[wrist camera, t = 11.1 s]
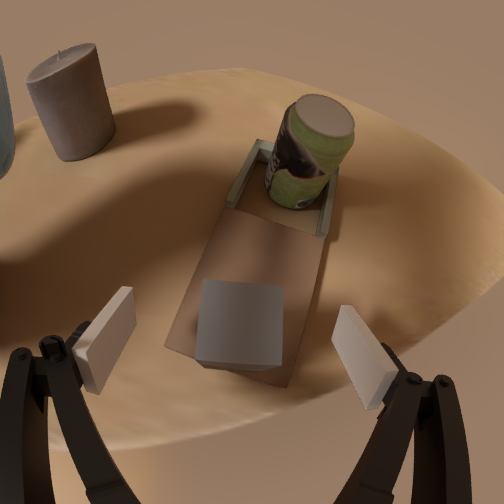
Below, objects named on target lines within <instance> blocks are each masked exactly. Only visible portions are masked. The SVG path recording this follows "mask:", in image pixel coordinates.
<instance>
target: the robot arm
mask: <svg viewBox="0 0 504 504" xmlns="http://www.w3.org/2000/svg"><path fill="white" fill-rule="evenodd" d="M14 154H15V133H14V125H13V118H12V111H11V105H10V99H9V94H8V88H7V82H6V77H5V72H4V67H3V62H2V58H1V56H0V180H1V179H2V178H3V177H4V176H5V175H6V174H7V172H8V171H9V169H10V168H11V165H12V163H13V160H14ZM135 326H136V316H135V306H134V294H133V287H126V286H122V287H121V288H120V289H119V290H118V291H117V292H116V294H115V295H114V296H113V297H112V298H111V300H110V301H109V302H108V303H107V304H106V306H105V307H104V308H103V309H102V310H101V312H100V313H99V314H98V315H97V317H96V318H95V319H94V320H93V322H89V321H85V322H84V323H82V324H80V325H79V326H78V327H77V329H76V330H75V332H73V333H72V335H71V336H70V337H69V338H68V340H67V341H66V342H65V343H64V341H63V339H62V338H61V337H60V336H57V335H49V336H46V337H44V338H43V339H42V340H41V341H40V342H39V348H40V351H41V353H42V356H43V357H35V356H33V355H32V352H31V351H30V349H28V348H24V347H22V348H18V349H16V350H14V351H13V352H12V353H11V355H10V359H9V362H8V366H7V370H6V374H5V378H4V383H3V388H2V392H1V398H0V504H56V503H55V498H54V492H53V487H52V480H51V471H50V462H49V449H48V397H52V399H53V403H54V407H55V410H56V414H57V417H58V420H59V423H60V427H61V430H62V433H63V435H64V438H65V441H66V444H67V446H68V449H69V452H70V454H71V457H72V459H73V461H74V464H75V465H76V468H77V471H78V473H79V475H80V477H81V479H82V481H83V483H84V485H85V487H86V495H87V497H88V499H89V501H90V503H91V504H141V503H140V502H139V500H138V499H137V497H136V496H135V495H134V493H133V491H132V490H131V488H130V487H129V485H128V484H127V482H126V481H125V479H124V478H123V476H122V474H121V473H120V471H119V469H118V468H117V466H116V464H115V462H114V461H113V459H112V457H111V455H110V453H109V452H108V450H107V448H106V446H105V444H104V442H103V440H102V438H101V436H100V434H99V432H98V430H97V428H96V425H95V423H94V421H93V419H92V417H91V414H90V412H89V410H88V407H87V405H86V402H85V400H84V397H83V395H82V392H81V390H80V388H81V387H82V385H83V384H84V387H85V389H86V391H87V392H90V393H94V394H97V395H100V393H101V391H102V389H103V387H104V385H105V383H106V381H107V379H108V377H109V375H110V373H111V371H112V369H113V367H114V365H115V363H116V361H117V359H118V358H119V356H120V354H121V352H122V350H123V348H124V346H125V344H126V343H127V341H128V339H129V337H130V335H131V333H132V332H133V330H134V328H135ZM331 341H332V343H333V345H334V347H335V349H336V351H337V353H338V355H339V357H340V359H341V361H342V363H343V365H344V367H345V369H346V371H347V373H348V375H349V377H350V379H351V381H352V383H353V385H354V387H355V389H356V392H357V394H358V396H359V398H360V400H361V402H362V404H363V406H364V408H365V410H370V409H376V408H378V407H379V405H380V403H381V402H382V401H383V403H384V405H385V406H384V408H383V410H382V411H381V413H380V414H379V416H378V417H377V419H378V421H377V424H376V426H375V428H374V431H373V433H372V435H371V437H370V439H369V442H368V443H367V445H366V448H365V449H364V452H363V454H362V455H361V458H360V459H359V461H358V463H357V465H356V467H355V469H354V470H353V472H352V474H351V476H350V478H349V479H348V481H347V482H346V484H345V486H344V487H343V489H342V491H341V492H340V494H339V495H338V497H337V499H336V500H335V502H334V503H333V504H392V503H393V500H394V495H393V494H392V489H393V487H394V485H395V483H396V480H397V477H398V475H399V472H400V469H401V467H402V464H403V461H404V458H405V455H406V452H407V449H408V446H409V442H410V439H411V436H412V432H413V429H414V473H413V487H412V497H411V504H472V491H471V474H470V463H469V455H468V448H467V441H466V435H465V429H464V424H463V419H462V414H461V409H460V405H459V401H458V397H457V393H456V389H455V385H454V382H453V381H452V379H451V378H450V377H448V376H446V375H437V376H436V377H435V379H434V381H433V382H430V381H423V379H422V378H421V377H420V376H419V375H418V374H416V373H413V372H408V371H407V370H406V369H405V367H404V366H403V364H401V362H400V360H399V359H397V356H396V355H395V354H394V352H393V351H392V349H391V348H390V347H389V346H387V345H386V344H385V343H379V341H378V340H377V339H376V337H375V336H374V334H373V333H372V332H371V330H370V329H369V328H368V326H367V325H366V324H365V322H364V321H363V320H362V318H361V317H360V316H359V314H358V313H357V312H356V310H355V309H354V308H353V306H352V305H341V308H340V311H339V315H338V318H337V322H336V325H335V328H334V332H333V335H332V338H331Z"/></svg>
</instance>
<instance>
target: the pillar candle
mask: <svg viewBox="0 0 504 504" xmlns="http://www.w3.org/2000/svg"><path fill="white" fill-rule="evenodd" d="M24 82H25V83H26V85H27V88H28V91H29V93H30V95H31V98H32V101H33V103H34V106H35V108H36V110H37V113H38V115H39V118H40V120H41V122H42V125H43V127H44V129H45V131H46V133H47V135H48V137H49V140H50V142H51V143H52V145H53V147H54V149H55V152H56V154H57V155H58V157H59V158H60V159H61V160H62V161H73V160H81V159H84V158H87V157H89V156H91V155H93V154H94V153H96V152H97V151H99V150H100V149H102V148H103V147H104V146H105V145H106V144H107V143H108V142H109V140H110V139H111V138H112V136H113V134H114V131H115V123H114V119H113V115H112V111H111V108H110V104H109V100H108V96H107V92H106V88H105V85H104V80H103V76H102V72H101V68H100V63H99V58H98V54H97V49H96V46H95V44H93V43H86V44H82V45H78V46H74V47H71V48H69V49H66V50H64V51H62V52H60V51H58V53H57V54H55V55H54V56H52V57H50V58H48V59H47V60H45V61H44V62H42V63H41V64H39V65H38V66H37V67H36V68H35V69H33V70H32V71H31V72H30V73H29V75H28V76H27V77H26V78H25V80H24Z"/></svg>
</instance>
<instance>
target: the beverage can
mask: <svg viewBox="0 0 504 504" xmlns="http://www.w3.org/2000/svg"><path fill="white" fill-rule="evenodd" d="M354 128H355V122H354V119H353V116H352V115H351V113H350V112H349V111H348V109H347V108H345V107H344V106H343V105H342V104H341V103H339V102H338V101H336V100H334V99H332V98H330V97H327V96H324V95H319V94H307V95H304V96H301V97H300V98H299V99H298V100H297V101H296V102H295V103H293V104H292V105H290V106H289V107H288V108H287V110H286V111H285V114H284V117H283V120H282V123H281V126H280V130H279V133H278V136H277V139H276V142H275V145H274V148H273V151H272V154H271V157H270V161H269V164H268V167H267V170H266V173H265V176H264V186H265V189H266V191H267V193H268V194H269V196H270V197H271V198H272V199H273V200H274V201H275V202H277V203H278V204H280V205H282V206H284V207H287V208H292V209H300V208H305V207H307V206H309V205H311V204H312V203H313V202H314V201H315V199H316V198H317V196H318V195H319V194H320V192H321V191H322V189H323V188H324V186H325V185H326V183H327V182H328V180H329V179H330V178H331V176H332V175H333V173H334V172H335V170H336V169H337V167H338V166H339V164H340V163H341V161H342V160H343V158H344V157H345V156H346V154H347V153H348V151H349V150H350V148H351V147H352V145H353V142H354V135H355V134H354Z"/></svg>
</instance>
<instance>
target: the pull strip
mask: <svg viewBox="0 0 504 504" xmlns="http://www.w3.org/2000/svg"><path fill="white" fill-rule="evenodd" d="M274 145H275V144H274V143H270V142H267V141H264V140H260V139H257V140H256V142H255V144H254V146H253V148H252V149H251V151H250V153H249V155H248V157H247V159H246V161H245V163H244V165H243V167H242V169H241V171H240V172H239V174H238V176H237V178H236V180H235V182H234V184H233V186H232V188H231V190H230V192H229V194H228V196H227V198H226V205H225V208H224V210H223V212H222V214H221V216H220V218H219V221H218V223H217V225H216V227H215V229H214V231H213V233H212V235H211V238H210V240H209V242H208V244H207V246H206V248H205V251H204V253H203V255H202V257H201V259H200V262H199V264H198V266H197V268H196V271H195V273H194V275H193V277H192V280H191V282H190V284H189V286H188V289H187V291H186V293H185V296H184V298H183V300H182V303H181V305H180V307H179V310H178V312H177V314H176V317H175V319H174V322H173V324H172V326H171V329H170V331H169V334H168V336H167V339H166V341H165V344H164V346H165V347H167V348H169V349H171V350H174V351H176V352H178V353H181V354H183V355H186V356H188V357H191V358H193V359H194V360H196V361H197V362H198V363H199V364H200V365H202V366H203V367H204V368H207V369H217V370H226V371H229V372H232V373H235V374H238V375H241V376H245V377H248V378H251V379H254V380H258V381H261V382H264V383H268V384H271V385H275V386H279V387H282V388H287V386H288V382H289V379H290V376H291V373H292V369H293V366H294V362H295V359H296V355H297V352H298V348H299V345H300V341H301V338H302V334H303V330H304V326H305V322H306V319H307V315H308V311H309V307H310V303H311V299H312V294H313V290H314V286H315V282H316V277H317V273H318V268H319V264H320V259H321V254H322V249H323V244H324V240H325V238H326V236H327V235H328V232H329V226H330V221H331V215H332V209H333V203H334V197H335V191H336V184H337V177H338V170H339V166H338V167H337V169H336V170H335V172H334V173H333V175H332V176H331V178H330V179H329V180H328V182H327V183H326V187H325V193H324V198H323V203H322V208H321V213H320V217H319V222H318V227H317V231H316V236H313V235H310V234H307V233H305V232H302V231H299V230H296V229H293V228H290V227H287V226H284V225H281V224H278V223H275V222H273V221H270V220H267V219H264V218H261V217H257V216H254V215H251V214H248V213H245V212H242V211H239V210H236V209H235V207H236V205H237V203H238V201H239V198H240V196H241V194H242V192H243V190H244V188H245V186H246V183H247V181H248V179H249V177H250V175H251V173H252V171H253V168H254V166H255V164H256V162H257V160H258V161H261V162H265V163H268V164H269V161H270V157H271V154H272V151H273V148H274Z"/></svg>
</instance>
